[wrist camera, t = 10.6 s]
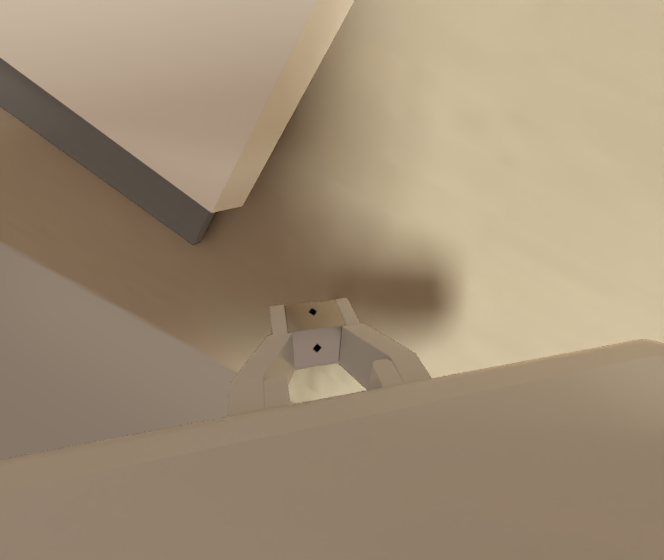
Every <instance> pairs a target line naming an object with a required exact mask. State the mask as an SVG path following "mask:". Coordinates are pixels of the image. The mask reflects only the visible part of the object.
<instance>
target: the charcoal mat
mask: <svg viewBox="0 0 664 560" xmlns="http://www.w3.org/2000/svg"><path fill="white" fill-rule="evenodd" d="M0 106H1V107H2V108H3V109H5V110H6V111H8V112H9V113H10V114H12V115H13V116H15V117H16V118H17V119H19V120H20V121H22V122H23V123H24V124H26V125H27V126H29V127H30V128H31V129H33V130H34V131H35V132H37V133H38V134H40V135H41V136H42V137H44V138H45V139H47V140H48V141H49V142H51V143H52V144H54V145H55V146H56V147H58V148H59V149H60V150H62V151H63V152H65V153H66V154H67V155H69V156H70V157H72V158H73V159H74V160H76V161H77V162H79V163H80V164H81V165H83V166H84V167H85V168H87V169H88V170H90V171H91V172H92V173H94V174H95V175H97V176H98V177H99V178H101V179H102V180H104V181H105V182H106V183H108V184H109V185H110V186H112V187H113V188H115V189H116V190H117V191H119V192H120V193H122V194H123V195H124V196H126V197H127V198H129V199H130V200H131V201H133V202H134V203H135V204H137V205H138V206H140V207H141V208H142V209H144V210H145V211H147V212H148V213H149V214H151V215H152V216H154V217H155V218H156V219H158V220H159V221H160V222H162V223H163V224H165V225H166V226H167V227H169V228H170V229H172V230H173V231H174V232H176V233H177V234H179V235H180V236H181V237H183V238H184V239H185V240H187V241H188V242H190V243H191V244H192V245H194V244H197V243H200V242H201V240H202V238H203V236H204V234H205V232H206V230H207V228H208V226H209V224H210V222H211V220H212V218H213V216H214V214H215V212H214V213H211V212H210V211H208V210H207V209H205V208H204V207H203V206H201V205H200V204H199V203H197V202H196V201H195V200H193V199H192V198H190V197H189V196H188V195H186V194H185V193H184V192H182V191H181V190H180V189H178V188H177V187H176V186H174V185H173V184H171V183H170V182H169V181H167V180H166V179H165V178H163V177H162V176H161V175H159V174H158V173H157V172H155V171H154V170H152V169H151V168H150V167H148V166H147V165H146V164H144V163H143V162H142V161H140V160H139V159H137V158H136V157H135V156H133V155H132V154H131V153H129V152H128V151H127V150H125V149H124V148H123V147H121V146H120V145H118V144H117V143H116V142H114V141H113V140H112V139H110V138H109V137H108V136H106V135H105V134H103V133H102V132H101V131H99V130H98V129H97V128H95V127H94V126H93V125H91V124H90V123H89V122H87V121H86V120H84V119H83V118H82V117H80V116H79V115H78V114H76V113H75V112H74V111H72V110H71V109H69V108H68V107H67V106H65V105H64V104H63V103H61V102H60V101H59V100H57V99H56V98H55V97H53V96H52V95H50V94H49V93H48V92H46V91H45V90H44V89H42V88H41V87H40V86H38V85H37V84H36V83H34V82H33V81H31V80H30V79H29V78H27V77H26V76H25V75H23V74H22V73H21V72H19V71H18V70H16V69H15V68H14V67H12V66H11V65H10V64H8V63H7V62H6V61H4V60H3V59H2V58H0Z"/></svg>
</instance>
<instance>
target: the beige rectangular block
mask: <svg viewBox="0 0 664 560" xmlns="http://www.w3.org/2000/svg"><path fill="white" fill-rule="evenodd" d="M354 1H355V0H0V58H2V59H3V60H4V61H6V62H7V63H8V64H10V65H11V66H12V67H14V68H15V69H16V70H18V71H19V72H21V73H22V74H23V75H25V76H26V77H27V78H29V79H30V80H31V81H33V82H34V83H36V84H37V85H38V86H40V87H41V88H42V89H44V90H45V91H46V92H48V93H49V94H50V95H52V96H53V97H55V98H56V99H57V100H59V101H60V102H61V103H63V104H64V105H65V106H67V107H68V108H69V109H71V110H72V111H74V112H75V113H76V114H78V115H79V116H80V117H82V118H83V119H84V120H86V121H87V122H89V123H90V124H91V125H93V126H94V127H95V128H97V129H98V130H99V131H101V132H102V133H103V134H105V135H106V136H108V137H109V138H110V139H112V140H113V141H114V142H116V143H117V144H118V145H120V146H121V147H123V148H124V149H125V150H127V151H128V152H129V153H131V154H132V155H133V156H135V157H136V158H137V159H139V160H140V161H142V162H143V163H144V164H146V165H147V166H148V167H150V168H151V169H152V170H154V171H155V172H157V173H158V174H159V175H161V176H162V177H163V178H165V179H166V180H167V181H169V182H170V183H171V184H173V185H174V186H176V187H177V188H178V189H180V190H181V191H182V192H184V193H185V194H186V195H188V196H189V197H190V198H192V199H193V200H195V201H196V202H197V203H199V204H200V205H201V206H203V207H204V208H205V209H207V210H208V211H210V212H211V213H214V212H218V211H223V210H228V209H232V208H237V207H242V206H243V204H244V203H245V201H246V199H247V197H248V195H249V193H250V191H251V190H252V188H253V186H254V184H255V182H256V180H257V179H258V177H259V175H260V173H261V171H262V169H263V168H264V166H265V164H266V162H267V160H268V158H269V157H270V155H271V153H272V151H273V149H274V147H275V146H276V144H277V142H278V140H279V138H280V136H281V135H282V133H283V131H284V129H285V127H286V125H287V124H288V122H289V120H290V118H291V116H292V114H293V113H294V111H295V109H296V107H297V105H298V103H299V102H300V100H301V98H302V96H303V94H304V92H305V91H306V89H307V87H308V85H309V83H310V81H311V79H312V78H313V76H314V74H315V72H316V70H317V68H318V67H319V65H320V63H321V61H322V59H323V57H324V56H325V54H326V52H327V50H328V48H329V46H330V45H331V43H332V41H333V39H334V37H335V35H336V34H337V32H338V30H339V28H340V26H341V24H342V23H343V21H344V19H345V17H346V15H347V13H348V12H349V10H350V8H351V6H352V4H353V2H354Z"/></svg>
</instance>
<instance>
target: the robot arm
mask: <svg viewBox="0 0 664 560" xmlns="http://www.w3.org/2000/svg"><path fill="white" fill-rule="evenodd" d="M270 316H271V329H272V335H268V336H267V337H266V339H265V340H264V341H263V342H262V344H261V345H260V346H259V347H258V349H257V350H256V351H255V352H254V354H253V355H252V356H251V358H250V359H249V360H248V361H247V363H246V364H245V365H244V366H243V368H242V369H241V370H240V371H239V373H238V374H237V375H236V376H235V378H234V379H233V380H232V381H231V383H230V394H229V404H228V416H227V417H223V418H218V419H213V420H207V421H202V422H196V423H191V424H187V425H180V426H175V427H170V428H164V429H160V430H154V431H149V432H143V433H138V434H132V435H127V436H122V437H116V438H111V439H106V440H100V441H95V442H90V443H84V444H79V445H74V446H68V447H63V448H58V449H52V450H47V451H41V452H36V453H31V454H25V455H20V456H15V457H9V458H4V459H0V560H664V343H661V342H657V341H652V340H647V339H640V340H632V341H628V342H623V343H618V344H613V345H607V346H602V347H597V348H591V349H586V350H581V351H575V352H570V353H565V354H559V355H554V356H549V357H543V358H538V359H533V360H527V361H522V362H517V363H511V364H506V365H501V366H495V367H490V368H485V369H479V370H474V371H469V372H463V373H458V374H453V375H447V376H442V377H437V378H431V376H430V375H429V373H428V372H427V370H426V369H425V367H424V366H423V364H422V362H421V361H420V359H419V358H418V356H417V355H416V353H414V352H412V351H411V350H409V349H407V348H406V347H404V346H402V345H400V344H399V343H397V342H395V341H393V340H392V339H390V338H388V337H387V336H385V335H383V334H381V333H380V332H378V331H376V330H375V329H373V328H371V327H369V326H368V325H366V324H364V323H361V324H360V322H359V320H358V318H357V316H356V314H355V312H354V310H353V308H352V306H351V304H350V302H349V300H348V299H347V298H341V299H334V300H328V301H319V302H307V303H295V304H284V305H274V306H270ZM334 363H339V365H341V366H342V367H343V368H344V369H345V370H346V371H347V372H348V373H349V374H350V375H351V376H353V377H354V378H355V379H356V380H357V381H358V382H359V383H360V384H361V385H362V386H363V387H364V388H366V389H367V391H362V392H356V393H351V394H346V395H340V396H335V397H330V398H324V399H319V400H314V401H308V402H303V403H298V404H292V405H290V398H289V391H288V383H289V381H290V379H291V377H292V375H293V373H294V370H297V369H302V368H307V367H313V366H319V365H327V364H334Z"/></svg>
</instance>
